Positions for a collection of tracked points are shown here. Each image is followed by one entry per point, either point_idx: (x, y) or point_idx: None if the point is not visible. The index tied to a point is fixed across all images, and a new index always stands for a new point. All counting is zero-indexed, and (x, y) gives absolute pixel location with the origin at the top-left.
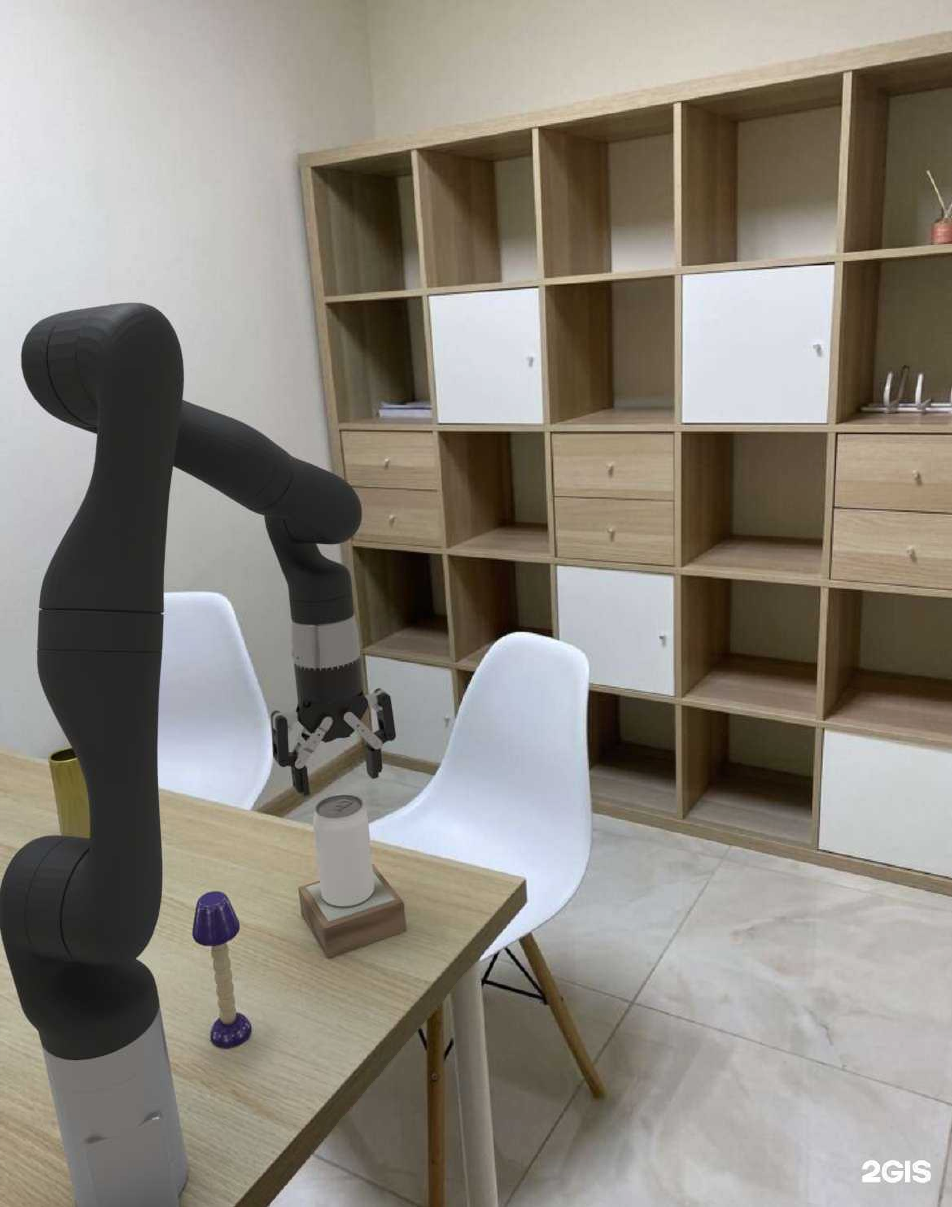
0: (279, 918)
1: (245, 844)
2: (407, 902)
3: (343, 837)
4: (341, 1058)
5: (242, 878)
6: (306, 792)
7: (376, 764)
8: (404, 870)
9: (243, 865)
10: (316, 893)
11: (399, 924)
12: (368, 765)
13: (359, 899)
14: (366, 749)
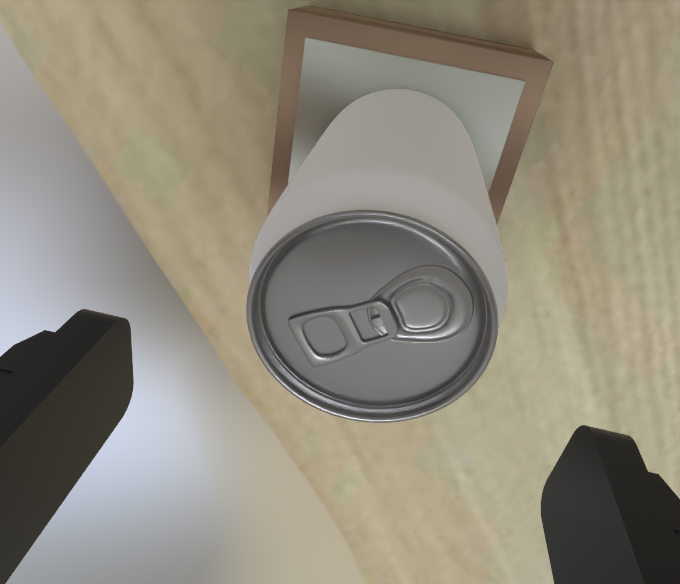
0: (510, 277)
1: (406, 511)
2: (244, 119)
3: (437, 170)
4: None
5: (477, 437)
6: (618, 446)
7: (29, 369)
8: (189, 236)
9: (449, 467)
10: None
11: (321, 10)
12: (93, 420)
13: (404, 90)
14: (13, 538)
